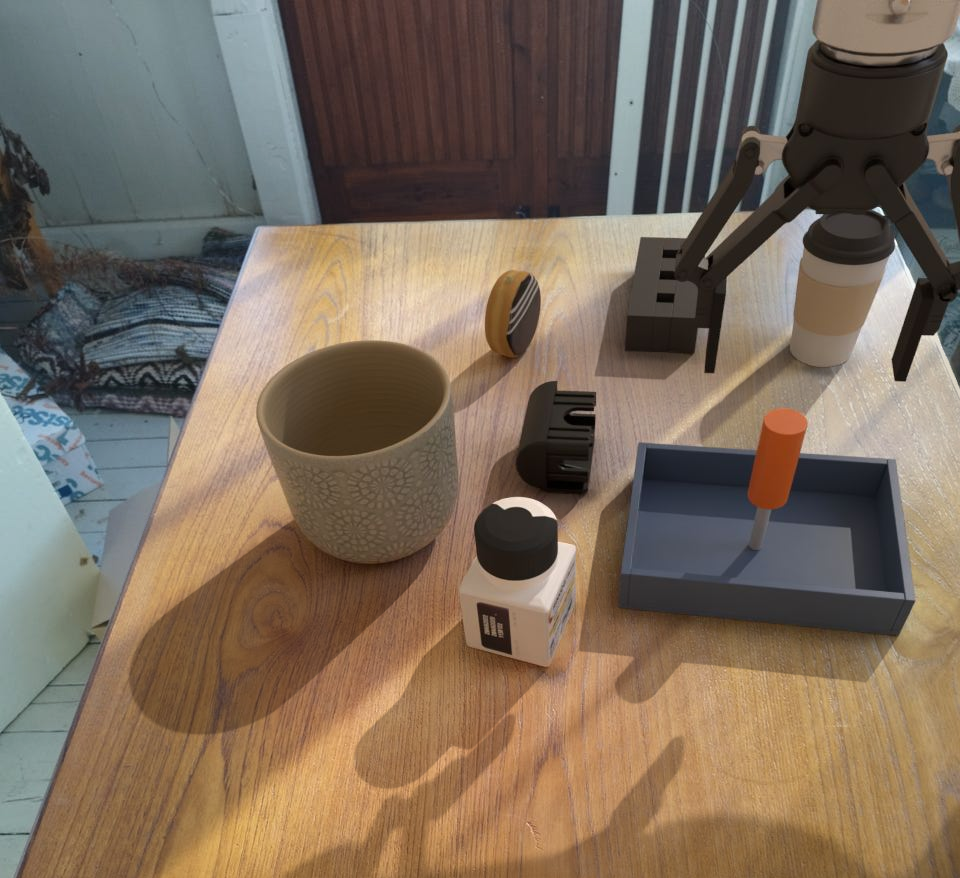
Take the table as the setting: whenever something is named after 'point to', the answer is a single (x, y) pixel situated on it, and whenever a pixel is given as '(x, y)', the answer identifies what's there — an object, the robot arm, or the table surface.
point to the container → (518, 582)
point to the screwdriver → (774, 466)
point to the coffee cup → (838, 284)
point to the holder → (660, 301)
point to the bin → (767, 541)
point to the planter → (364, 447)
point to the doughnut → (512, 313)
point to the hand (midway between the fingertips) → (802, 367)
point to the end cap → (557, 440)
